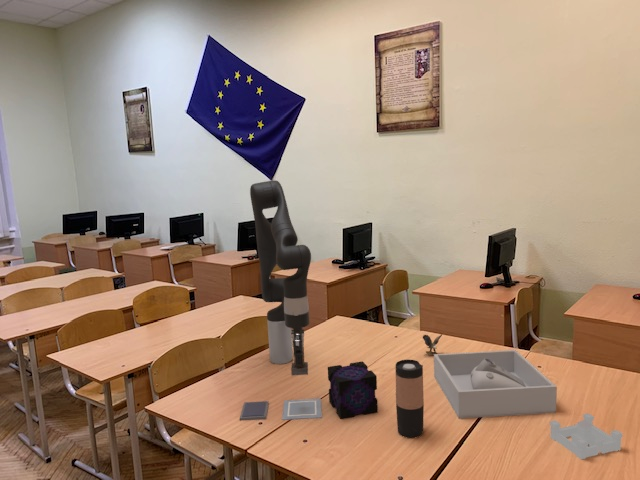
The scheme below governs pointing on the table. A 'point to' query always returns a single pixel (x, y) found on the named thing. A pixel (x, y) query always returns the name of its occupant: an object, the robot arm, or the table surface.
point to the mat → (302, 409)
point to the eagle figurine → (431, 344)
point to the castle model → (585, 438)
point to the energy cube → (352, 390)
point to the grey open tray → (498, 401)
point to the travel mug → (409, 398)
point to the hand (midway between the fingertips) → (299, 363)
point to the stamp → (299, 370)
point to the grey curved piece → (493, 377)
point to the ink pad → (254, 410)
